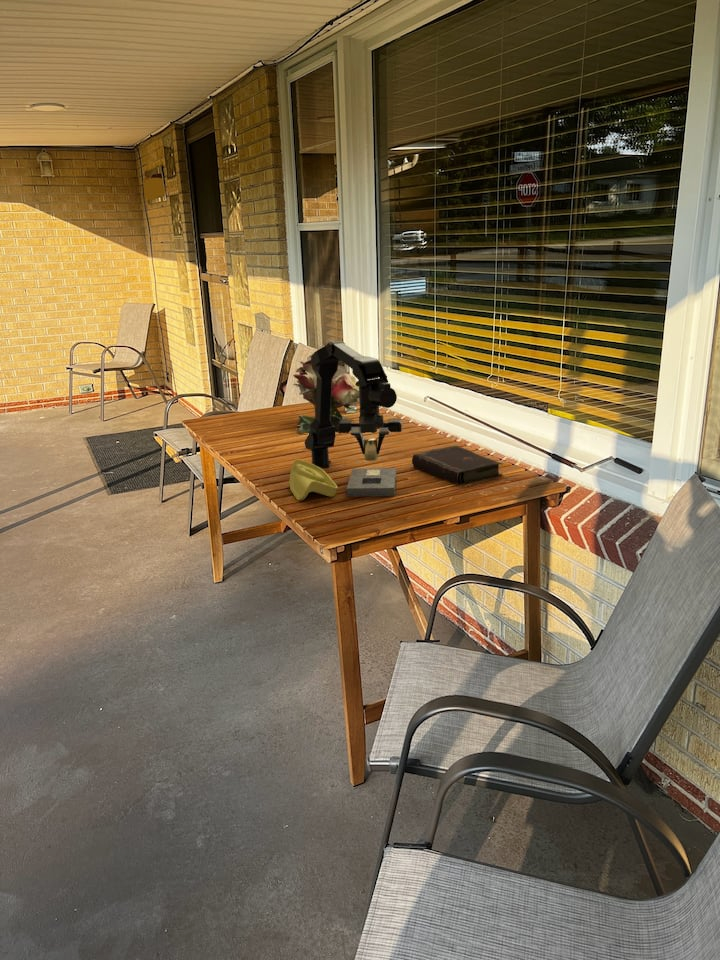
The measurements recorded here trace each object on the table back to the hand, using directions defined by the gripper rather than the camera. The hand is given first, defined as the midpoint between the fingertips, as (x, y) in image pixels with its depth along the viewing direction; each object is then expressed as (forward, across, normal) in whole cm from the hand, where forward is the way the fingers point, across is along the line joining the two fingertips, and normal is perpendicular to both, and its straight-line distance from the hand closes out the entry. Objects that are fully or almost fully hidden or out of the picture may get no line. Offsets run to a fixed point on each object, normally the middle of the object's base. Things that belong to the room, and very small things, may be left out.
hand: (370, 454), depth 217 cm
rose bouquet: (+11, -24, +84) cm, 88 cm away
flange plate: (+11, 0, +3) cm, 11 cm away
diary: (+12, +26, +17) cm, 34 cm away
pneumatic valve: (+11, -16, +108) cm, 110 cm away
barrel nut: (+2, 0, 0) cm, 2 cm away
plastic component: (+11, -18, 0) cm, 21 cm away
